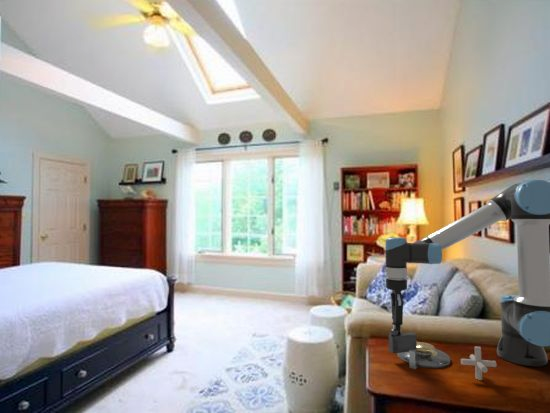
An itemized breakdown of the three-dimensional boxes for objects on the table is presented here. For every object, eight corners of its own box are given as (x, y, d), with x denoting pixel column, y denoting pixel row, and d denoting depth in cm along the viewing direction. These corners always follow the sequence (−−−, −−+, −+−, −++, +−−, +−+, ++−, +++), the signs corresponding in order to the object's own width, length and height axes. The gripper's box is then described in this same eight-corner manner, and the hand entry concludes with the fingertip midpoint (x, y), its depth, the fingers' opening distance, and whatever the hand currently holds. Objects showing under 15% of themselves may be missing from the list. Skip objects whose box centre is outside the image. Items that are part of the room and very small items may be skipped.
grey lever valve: (420, 341, 133) (420, 321, 133) (444, 354, 120) (443, 331, 120) (381, 345, 128) (380, 324, 129) (401, 359, 116) (401, 335, 116)
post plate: (460, 360, 122) (459, 343, 123) (425, 374, 111) (425, 356, 112) (416, 345, 138) (416, 330, 138) (382, 356, 127) (382, 340, 127)
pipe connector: (503, 387, 102) (501, 354, 103) (467, 384, 104) (466, 352, 105) (489, 373, 112) (488, 342, 113) (456, 370, 114) (456, 340, 115)
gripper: (383, 275, 134) (384, 334, 133) (388, 281, 121) (389, 347, 120) (403, 275, 132) (404, 335, 131) (410, 281, 120) (411, 348, 119)
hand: (397, 341), depth 126 cm, fingers closed
